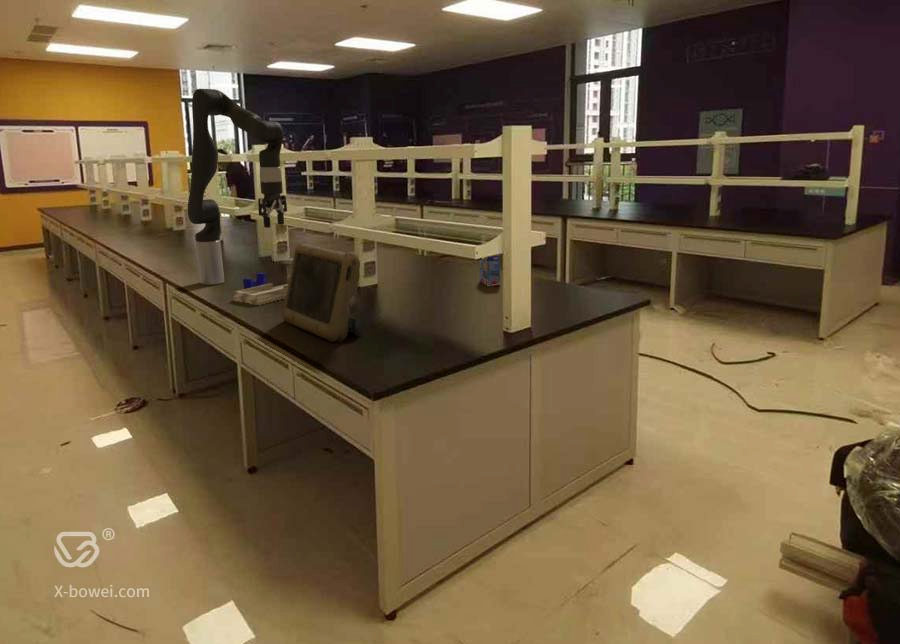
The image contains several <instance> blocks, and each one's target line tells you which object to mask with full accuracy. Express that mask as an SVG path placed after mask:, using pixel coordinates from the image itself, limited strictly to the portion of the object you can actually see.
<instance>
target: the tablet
mask: <svg viewBox="0 0 900 644" xmlns="http://www.w3.org/2000/svg"><path fill="white" fill-rule="evenodd" d="M360 270H361V261H360V258H359V256H358V254H357V253H356V252H354V251H348V252H345V251H344V252H343V251H341V250H333V249H328V248H323V247H321V246H319V245H317V244H316V245H313V244H310V243H309V241H301V242H299V243H297V245H296V247H295V249H294V254H293V261H292V272H291V276H290V278H289V285H288V289H287V293H286V297H285V299H284V304H283V309H282V318H283V322H285V323H287V324H290V325H292V326H294V327H297V328H299V329H301V330H304V331H307V332H309V333H311V334H313V335H315V336H317V337H320V338H323V339H325V340H326V341H329V342H332V343H333V342H336V343H341V342H343V341H344V340H345V339H346V338H347V337H348V334H349V331H351V332H352V333H353V334H354V336H356V337H359V338H360V337H361V336H362V321H361V319H360V318H356V317H355V316H351V314H350V309H349V304H350V303H349V302H350V300H351V299H352V298H354V296H356V295H357V290H358V287H359V282H360V277H361V275H360V274H361V273H360Z"/></svg>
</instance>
